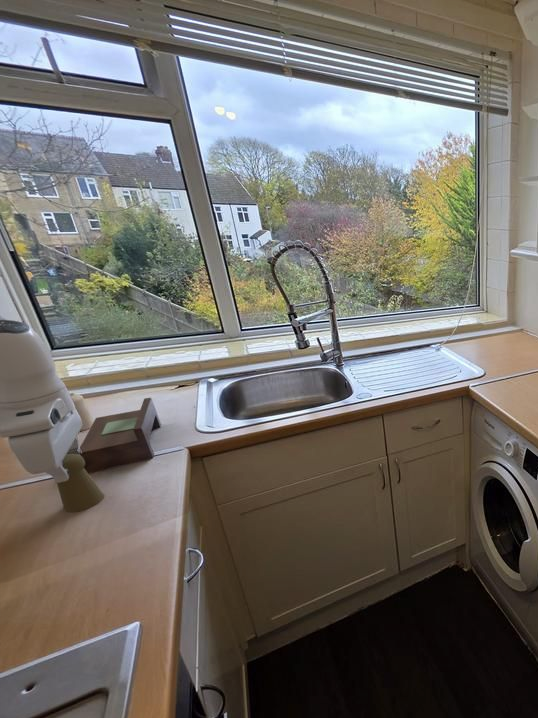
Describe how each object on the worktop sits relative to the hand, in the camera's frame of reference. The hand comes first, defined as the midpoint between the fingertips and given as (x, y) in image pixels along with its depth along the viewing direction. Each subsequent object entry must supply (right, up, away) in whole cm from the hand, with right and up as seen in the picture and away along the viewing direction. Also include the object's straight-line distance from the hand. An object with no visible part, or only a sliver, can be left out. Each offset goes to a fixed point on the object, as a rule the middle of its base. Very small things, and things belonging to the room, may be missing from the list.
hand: (70, 467), depth 81 cm
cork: (0, -8, +3) cm, 9 cm away
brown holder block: (-10, +1, +23) cm, 25 cm away
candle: (-31, +5, +31) cm, 44 cm away
